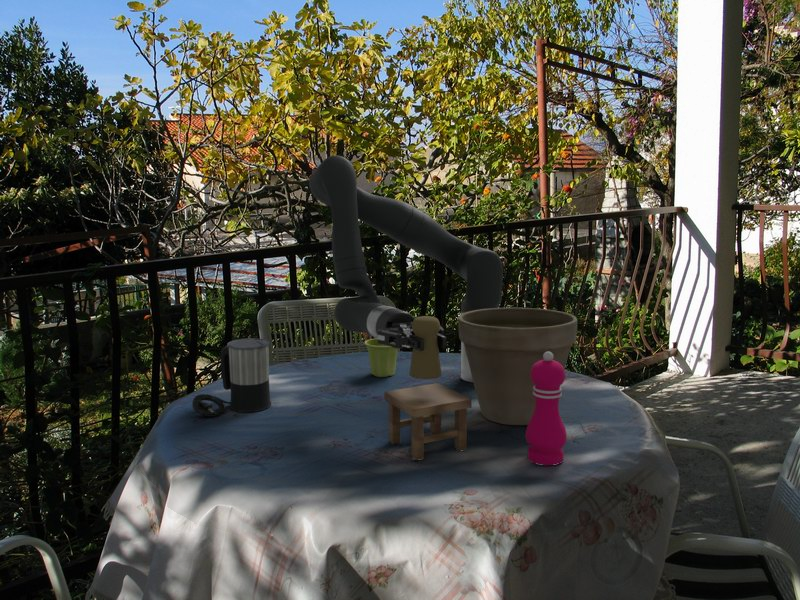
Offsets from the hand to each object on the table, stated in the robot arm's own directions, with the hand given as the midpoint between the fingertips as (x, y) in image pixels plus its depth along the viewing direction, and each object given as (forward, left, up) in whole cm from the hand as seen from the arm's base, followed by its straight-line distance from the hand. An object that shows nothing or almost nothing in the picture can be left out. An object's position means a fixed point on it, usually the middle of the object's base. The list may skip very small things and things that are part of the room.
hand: (433, 343), depth 126 cm
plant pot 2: (-24, -14, -21) cm, 34 cm away
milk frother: (+34, -37, -21) cm, 54 cm away
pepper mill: (-18, +10, -21) cm, 29 cm away
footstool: (0, -3, -20) cm, 21 cm away
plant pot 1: (-6, -54, -21) cm, 58 cm away
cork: (+1, -3, -7) cm, 7 cm away
